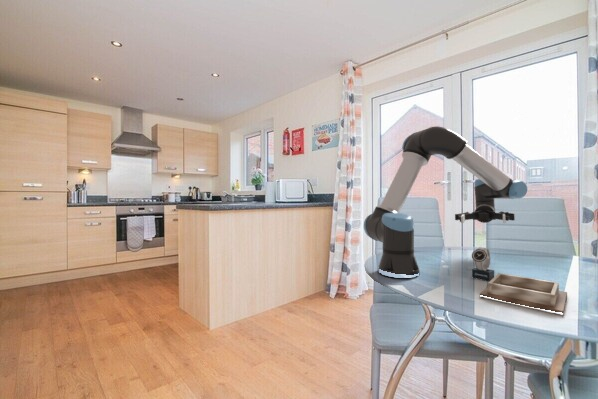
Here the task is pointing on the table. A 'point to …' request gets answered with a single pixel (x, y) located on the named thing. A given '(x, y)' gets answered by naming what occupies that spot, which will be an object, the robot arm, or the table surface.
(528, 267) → the table surface
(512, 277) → the board
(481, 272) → the watch
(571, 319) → the table surface
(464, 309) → the table surface
